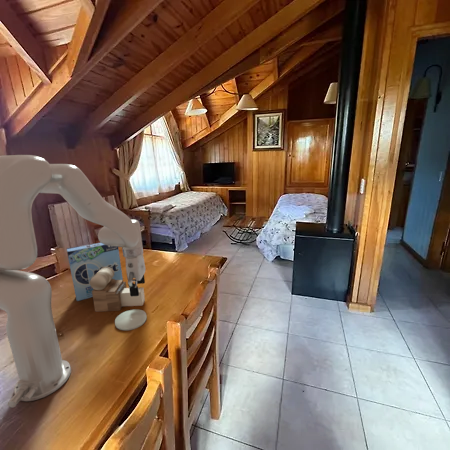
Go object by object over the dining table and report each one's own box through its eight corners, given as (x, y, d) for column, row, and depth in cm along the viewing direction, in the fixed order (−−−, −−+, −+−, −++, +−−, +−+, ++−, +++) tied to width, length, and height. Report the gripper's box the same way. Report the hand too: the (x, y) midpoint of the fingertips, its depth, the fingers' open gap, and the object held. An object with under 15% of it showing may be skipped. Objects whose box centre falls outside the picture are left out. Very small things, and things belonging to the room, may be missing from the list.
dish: (142, 329, 89) (142, 326, 89) (110, 331, 88) (110, 328, 88) (149, 311, 100) (149, 308, 99) (121, 312, 99) (120, 309, 99)
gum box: (121, 284, 121) (116, 239, 115) (124, 288, 117) (118, 242, 111) (75, 296, 111) (66, 247, 105) (76, 302, 107) (66, 251, 101)
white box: (142, 305, 104) (141, 292, 102) (112, 306, 103) (110, 293, 101) (144, 300, 108) (143, 287, 106) (116, 301, 107) (114, 288, 105)
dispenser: (119, 310, 100) (115, 276, 97) (93, 311, 100) (88, 277, 96) (127, 297, 110) (123, 265, 106) (104, 298, 109) (99, 266, 106)
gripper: (136, 259, 92) (142, 300, 97) (147, 242, 108) (151, 278, 113) (115, 260, 91) (122, 301, 96) (129, 243, 108) (134, 279, 113)
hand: (138, 289), depth 105 cm, fingers open, 9 cm apart
